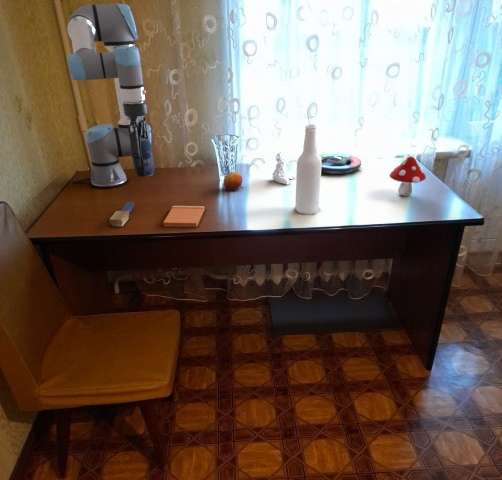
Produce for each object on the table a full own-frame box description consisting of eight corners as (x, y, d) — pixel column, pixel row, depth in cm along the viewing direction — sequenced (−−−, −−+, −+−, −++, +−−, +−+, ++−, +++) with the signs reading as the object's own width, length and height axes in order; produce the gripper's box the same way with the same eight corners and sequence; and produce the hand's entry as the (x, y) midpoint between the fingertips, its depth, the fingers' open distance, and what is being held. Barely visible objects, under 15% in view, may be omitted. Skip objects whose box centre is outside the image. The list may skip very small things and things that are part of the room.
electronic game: (300, 167, 224) (300, 156, 221) (335, 157, 235) (336, 147, 232) (335, 179, 209) (335, 168, 206) (371, 168, 220) (372, 158, 217)
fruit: (244, 189, 197) (234, 172, 194) (229, 198, 200) (218, 181, 197) (248, 182, 203) (238, 166, 200) (233, 191, 207) (223, 175, 203)
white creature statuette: (288, 185, 204) (289, 156, 197) (269, 183, 206) (269, 154, 199) (294, 178, 211) (295, 150, 204) (275, 176, 214) (275, 148, 207)
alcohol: (294, 205, 185) (297, 122, 167) (317, 205, 185) (322, 122, 167) (295, 214, 178) (298, 129, 160) (319, 214, 178) (325, 128, 160)
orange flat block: (163, 226, 172) (163, 221, 171) (173, 209, 184) (173, 204, 183) (196, 227, 171) (196, 222, 169) (204, 210, 183) (204, 205, 182)
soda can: (141, 178, 166) (136, 142, 159) (131, 174, 170) (125, 138, 163) (158, 174, 169) (154, 138, 162) (148, 170, 174) (143, 135, 167)
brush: (110, 226, 173) (109, 219, 171) (126, 207, 187) (124, 200, 185) (123, 226, 172) (121, 219, 170) (137, 208, 187) (136, 201, 185)
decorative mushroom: (394, 186, 200) (400, 149, 191) (427, 192, 194) (435, 154, 185) (381, 196, 191) (386, 158, 182) (415, 203, 184) (422, 163, 176)
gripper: (136, 108, 148) (147, 182, 161) (153, 96, 164) (162, 164, 177) (113, 108, 148) (126, 182, 162) (131, 96, 164) (142, 164, 178)
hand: (144, 172), depth 169 cm, fingers closed on soda can, 7 cm apart
